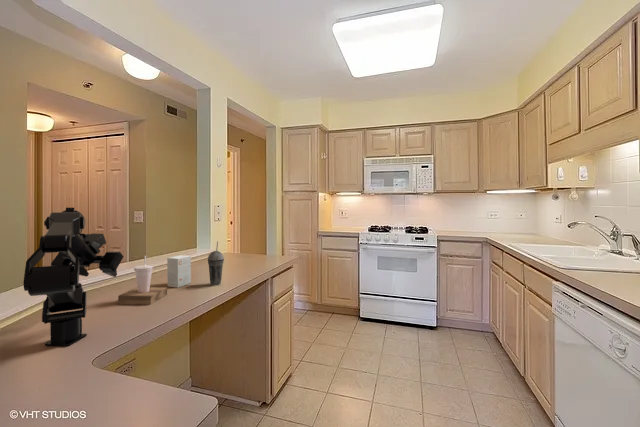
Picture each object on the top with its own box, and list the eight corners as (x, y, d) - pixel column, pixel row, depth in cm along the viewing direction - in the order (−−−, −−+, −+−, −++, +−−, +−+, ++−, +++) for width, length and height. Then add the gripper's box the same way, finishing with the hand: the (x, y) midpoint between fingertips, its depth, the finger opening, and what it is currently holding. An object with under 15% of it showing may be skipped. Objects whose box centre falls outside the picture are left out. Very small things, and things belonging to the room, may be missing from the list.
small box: (180, 282, 143) (180, 254, 143) (191, 283, 141) (191, 255, 141) (166, 286, 136) (166, 257, 135) (177, 287, 134) (177, 258, 133)
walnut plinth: (150, 304, 112) (150, 296, 111) (118, 303, 112) (118, 295, 111) (167, 294, 124) (167, 287, 123) (137, 294, 124) (137, 286, 123)
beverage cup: (203, 285, 138) (204, 242, 138) (213, 281, 145) (214, 240, 145) (217, 287, 136) (217, 243, 135) (226, 283, 143) (227, 241, 142)
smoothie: (150, 293, 115) (150, 256, 115) (131, 294, 113) (131, 257, 113) (154, 288, 121) (155, 254, 121) (136, 289, 120) (137, 254, 119)
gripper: (119, 226, 93) (140, 255, 104) (58, 225, 93) (86, 254, 104) (101, 256, 85) (126, 284, 96) (34, 254, 85) (67, 283, 96)
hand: (101, 275), depth 99 cm, fingers open, 9 cm apart
